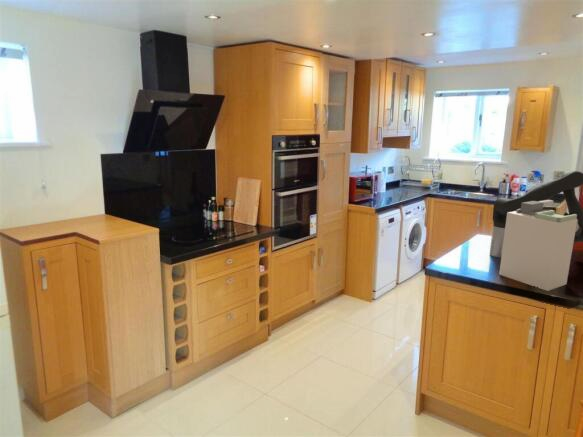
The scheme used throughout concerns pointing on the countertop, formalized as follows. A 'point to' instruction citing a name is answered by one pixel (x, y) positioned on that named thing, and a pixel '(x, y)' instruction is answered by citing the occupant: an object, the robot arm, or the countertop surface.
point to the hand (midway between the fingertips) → (556, 212)
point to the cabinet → (538, 248)
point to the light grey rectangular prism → (534, 206)
